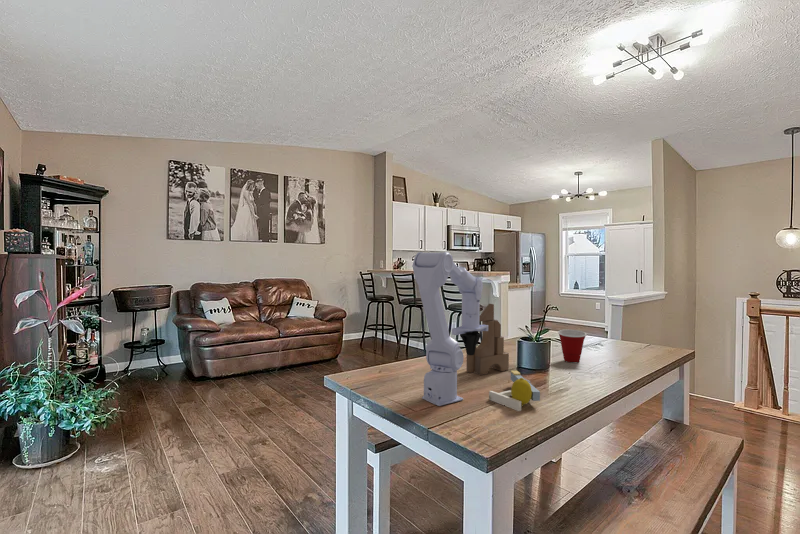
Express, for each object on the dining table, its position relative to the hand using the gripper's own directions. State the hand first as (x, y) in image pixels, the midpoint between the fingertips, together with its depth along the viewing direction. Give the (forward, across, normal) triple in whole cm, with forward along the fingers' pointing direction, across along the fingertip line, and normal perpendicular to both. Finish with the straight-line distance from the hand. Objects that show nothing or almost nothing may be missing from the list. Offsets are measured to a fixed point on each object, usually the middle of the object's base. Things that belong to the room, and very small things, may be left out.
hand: (470, 354), depth 134 cm
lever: (+8, +6, -17) cm, 20 cm away
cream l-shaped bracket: (+10, -1, -19) cm, 21 cm away
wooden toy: (+10, +17, +9) cm, 22 cm away
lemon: (+10, -2, -22) cm, 25 cm away
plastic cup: (+10, +56, 0) cm, 57 cm away
